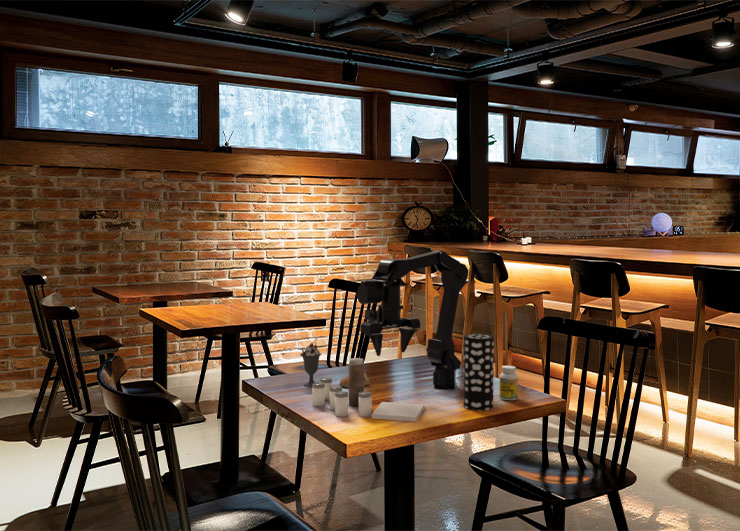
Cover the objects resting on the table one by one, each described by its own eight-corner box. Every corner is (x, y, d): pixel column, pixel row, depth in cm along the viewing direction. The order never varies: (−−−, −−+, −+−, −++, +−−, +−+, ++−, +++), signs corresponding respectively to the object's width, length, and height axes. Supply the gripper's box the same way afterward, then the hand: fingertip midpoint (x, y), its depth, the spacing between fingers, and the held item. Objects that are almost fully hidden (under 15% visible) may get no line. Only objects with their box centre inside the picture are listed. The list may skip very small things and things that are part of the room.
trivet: (423, 408, 181) (423, 404, 181) (416, 421, 169) (416, 417, 169) (382, 406, 184) (382, 401, 184) (371, 418, 172) (371, 414, 172)
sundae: (325, 383, 210) (325, 337, 209) (315, 388, 204) (314, 341, 203) (307, 381, 213) (307, 336, 212) (297, 386, 207) (296, 339, 206)
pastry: (348, 390, 203) (347, 378, 202) (334, 386, 208) (334, 374, 208) (370, 385, 209) (370, 373, 209) (357, 381, 214) (357, 370, 214)
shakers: (328, 396, 194) (328, 376, 194) (374, 415, 175) (374, 393, 175) (303, 401, 189) (303, 381, 189) (347, 421, 170) (347, 398, 170)
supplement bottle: (519, 397, 193) (519, 365, 192) (516, 402, 188) (517, 369, 187) (500, 396, 194) (501, 364, 194) (497, 400, 189) (498, 368, 189)
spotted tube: (475, 412, 178) (475, 340, 176) (457, 404, 185) (457, 335, 184) (499, 408, 181) (500, 337, 180) (481, 401, 189) (481, 333, 188)
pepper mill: (365, 402, 187) (365, 358, 187) (361, 407, 183) (361, 361, 182) (351, 401, 188) (351, 357, 188) (347, 405, 184) (346, 360, 183)
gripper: (398, 297, 204) (398, 346, 205) (349, 301, 193) (349, 353, 194) (421, 300, 195) (421, 352, 196) (371, 305, 184) (371, 359, 185)
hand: (390, 354), depth 193 cm, fingers open, 9 cm apart
